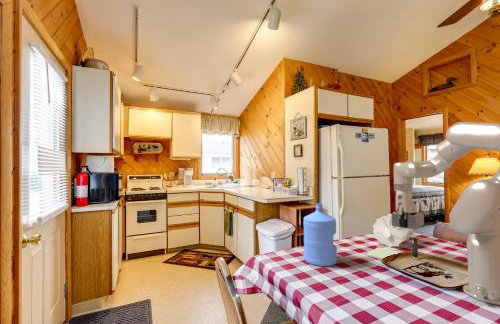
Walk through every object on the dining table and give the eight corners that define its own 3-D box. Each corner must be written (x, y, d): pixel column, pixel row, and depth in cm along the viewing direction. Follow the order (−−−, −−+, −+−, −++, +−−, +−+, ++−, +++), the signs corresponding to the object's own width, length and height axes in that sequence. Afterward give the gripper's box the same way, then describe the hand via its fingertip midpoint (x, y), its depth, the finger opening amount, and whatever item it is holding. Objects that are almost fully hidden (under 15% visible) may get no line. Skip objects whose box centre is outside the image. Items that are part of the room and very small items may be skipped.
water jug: (314, 268, 108) (313, 206, 109) (298, 256, 123) (297, 202, 124) (344, 264, 112) (342, 204, 113) (325, 253, 127) (323, 201, 128)
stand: (419, 260, 117) (418, 239, 117) (408, 257, 120) (407, 238, 120) (421, 257, 120) (420, 238, 120) (411, 255, 123) (410, 236, 123)
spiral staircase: (379, 253, 139) (393, 241, 156) (411, 246, 127) (422, 234, 144) (363, 222, 145) (379, 214, 162) (392, 213, 133) (405, 206, 150)
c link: (416, 229, 110) (415, 216, 110) (391, 226, 117) (391, 213, 117) (424, 224, 119) (423, 212, 119) (401, 221, 127) (400, 210, 127)
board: (390, 261, 116) (390, 259, 116) (366, 255, 124) (366, 254, 124) (400, 253, 126) (400, 251, 126) (378, 248, 135) (378, 247, 135)
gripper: (407, 189, 107) (408, 231, 106) (417, 187, 117) (418, 225, 117) (388, 188, 112) (389, 228, 112) (399, 186, 123) (400, 222, 122)
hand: (404, 226), depth 114 cm, fingers closed on c link
